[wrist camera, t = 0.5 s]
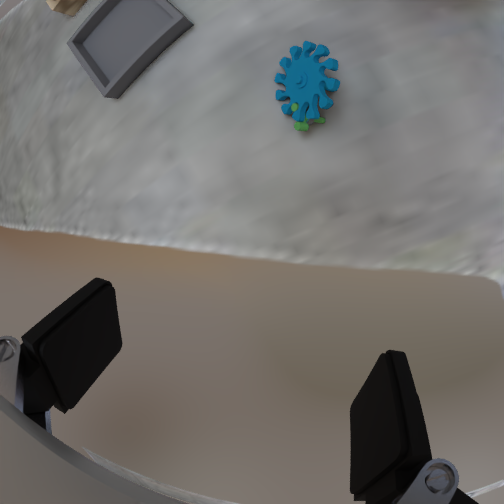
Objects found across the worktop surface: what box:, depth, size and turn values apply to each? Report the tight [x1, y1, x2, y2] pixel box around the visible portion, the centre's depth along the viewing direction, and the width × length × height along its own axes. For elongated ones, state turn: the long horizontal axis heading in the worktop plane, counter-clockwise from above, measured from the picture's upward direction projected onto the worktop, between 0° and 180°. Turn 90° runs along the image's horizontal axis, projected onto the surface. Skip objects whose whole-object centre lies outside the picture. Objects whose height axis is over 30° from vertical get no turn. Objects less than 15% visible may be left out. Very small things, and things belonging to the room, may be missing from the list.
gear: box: [274, 41, 340, 131], centre depth 29 cm, size 11×6×10 cm
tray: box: [67, 0, 193, 98], centre depth 30 cm, size 16×16×4 cm
